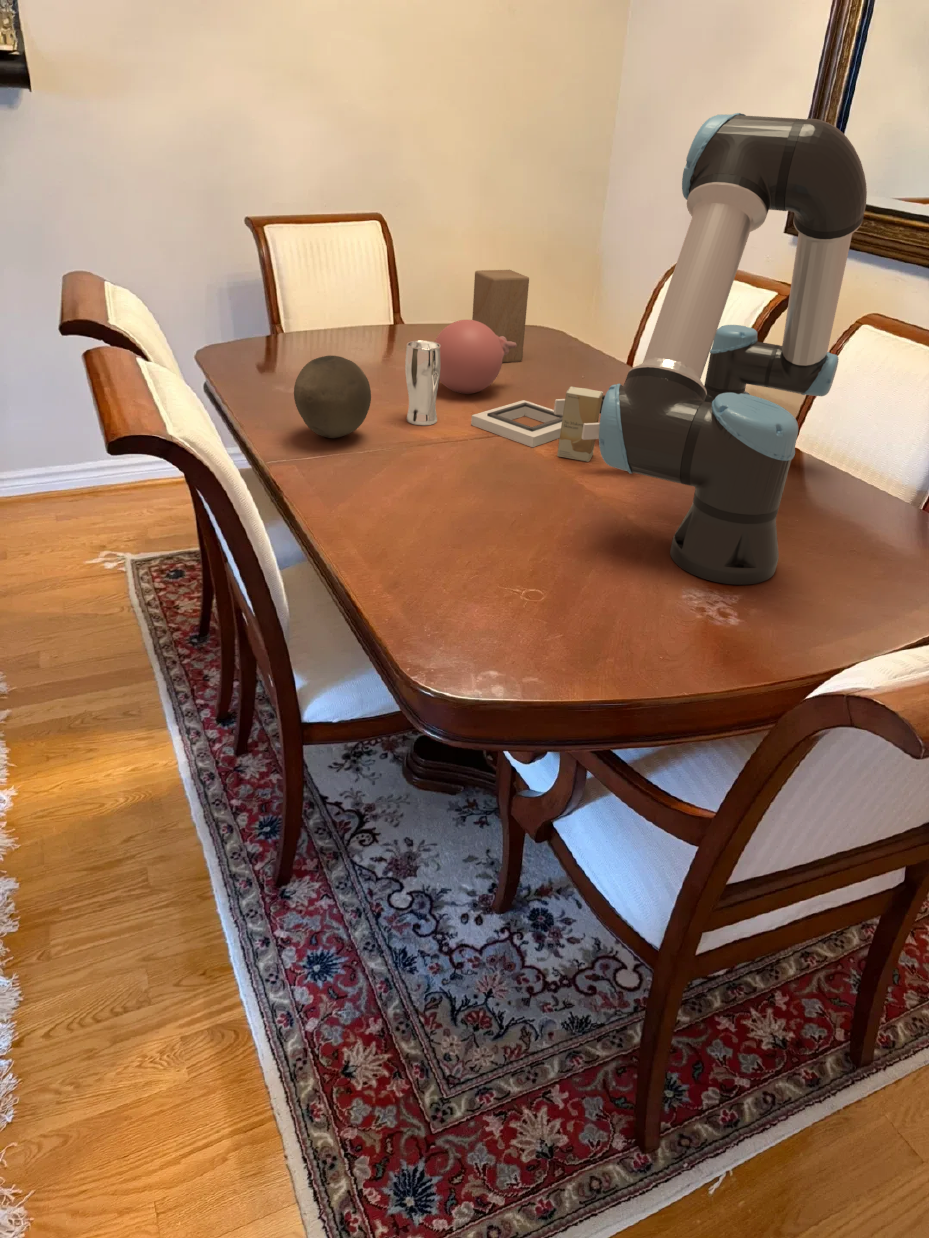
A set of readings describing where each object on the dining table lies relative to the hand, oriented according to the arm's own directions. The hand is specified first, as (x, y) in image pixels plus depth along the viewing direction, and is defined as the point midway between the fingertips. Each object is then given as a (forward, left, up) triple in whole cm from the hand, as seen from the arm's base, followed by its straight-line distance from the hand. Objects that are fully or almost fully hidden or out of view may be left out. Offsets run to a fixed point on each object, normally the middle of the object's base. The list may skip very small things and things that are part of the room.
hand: (568, 419), depth 155 cm
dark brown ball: (-27, +34, -7) cm, 44 cm away
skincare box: (+2, -1, -7) cm, 8 cm away
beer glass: (-7, +31, -7) cm, 32 cm away
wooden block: (+41, +54, -7) cm, 68 cm away
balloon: (+16, +38, -7) cm, 42 cm away
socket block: (+7, +15, -7) cm, 18 cm away
